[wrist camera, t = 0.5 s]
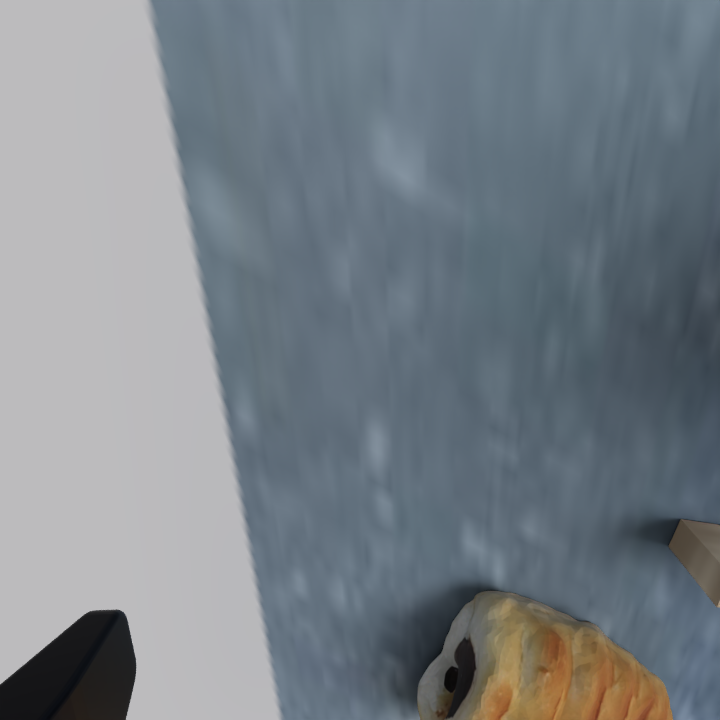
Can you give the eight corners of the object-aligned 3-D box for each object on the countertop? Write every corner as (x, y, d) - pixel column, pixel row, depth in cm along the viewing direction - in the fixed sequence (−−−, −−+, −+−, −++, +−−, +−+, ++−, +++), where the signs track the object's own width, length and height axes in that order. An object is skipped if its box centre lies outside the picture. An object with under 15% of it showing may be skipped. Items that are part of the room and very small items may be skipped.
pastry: (686, 636, 24) (746, 725, 21) (598, 749, 27) (639, 847, 23) (472, 568, 23) (498, 652, 19) (398, 695, 25) (409, 792, 21)
